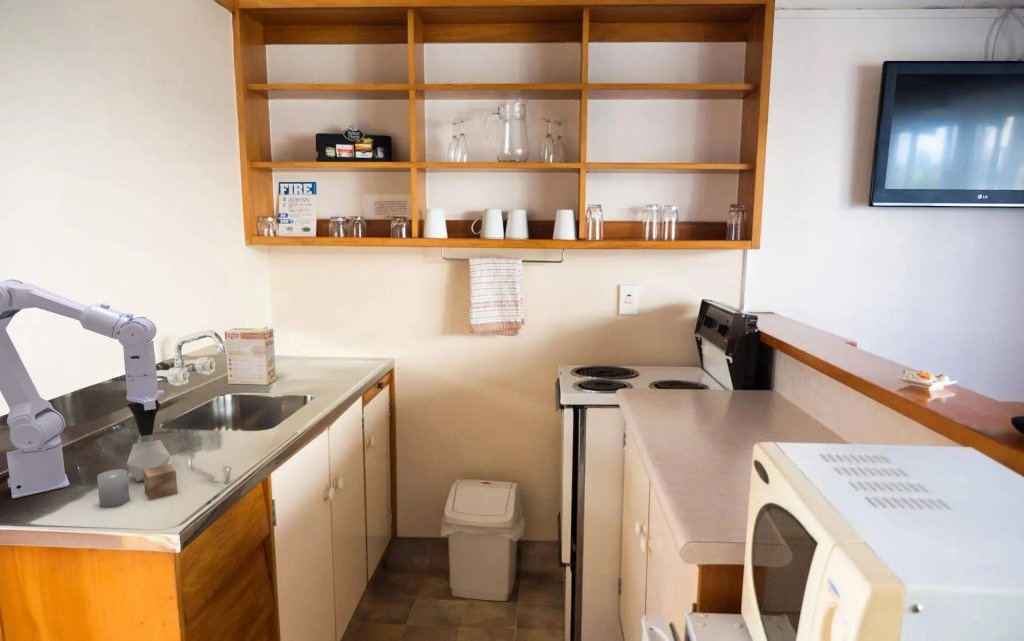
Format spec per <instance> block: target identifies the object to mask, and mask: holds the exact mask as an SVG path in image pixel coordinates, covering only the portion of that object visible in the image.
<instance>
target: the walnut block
mask: <svg viewBox="0 0 1024 641" xmlns="http://www.w3.org/2000/svg"><path fill="white" fill-rule="evenodd" d="M143 475H144V480H143V484H144V493H145V494H146V496H147V498H148V500H149V501H152V500H156V499H161V498H165V497H169V496H173V495H177V494H178V486H177V485H178V484H177V482H178V481H177V471H176V469H175V468H174V467H173V465H171V463H168V465H163V466H158V467H154V468H149V469H145V470H143Z"/></svg>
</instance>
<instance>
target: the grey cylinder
mask: <svg viewBox="0 0 1024 641" xmlns="http://www.w3.org/2000/svg"><path fill="white" fill-rule="evenodd" d="M96 479H97V489H98V498H99V499H98V500H99V501H98V502H99V506H100V508H103V509H114V508H117V507H121V506H123V505H126V504H127V503H129V501H130V498H131V497H130V489H129V478H128V470H126V469H123V468H116V469H110V470H106V471H103V472H101V473H99V474H98V475H96Z"/></svg>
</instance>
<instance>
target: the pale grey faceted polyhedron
mask: <svg viewBox="0 0 1024 641" xmlns="http://www.w3.org/2000/svg"><path fill="white" fill-rule="evenodd" d="M170 459H171V455H170V453H169V451H168V450H167V448H166V447H165V445H164V444H163V442H162V441H161V439H158V440H157V439H156V440H151V441H143V442H138V443H133V445H132V447H131V450H130V453H129V456H128V459H127V462H126V466H127V467H128V469H129V471H130V472H131V474H132V476H133V477H134V479H135V481H136V482H137V483H138V482H144V475H143V470H145V469H149V468H154V467H158V466H163V465H168V464H169V462H170Z"/></svg>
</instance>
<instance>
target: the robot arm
mask: <svg viewBox="0 0 1024 641" xmlns="http://www.w3.org/2000/svg"><path fill="white" fill-rule="evenodd" d="M34 308H35V309H36V308H37V309H40V310H43V311H47V312H50V313H53V314H55V315H56V314H57V315H60V316H64V317H66V318H69V319H73V320H76V321H79V323H80V324H81V326H82V328H83V329H84V330H87V331H90V332H93V333H96V334H97V335H98V334H99V335H102V336H104V337H108V338H109V339H113V340H118V342H119V343H120V345H122V347H123V348H122V349H123V360H124V373H125V374H124V375H125V386H126V396H125V397H126V400H127V401H129V402H131V403H128V404H127V407H128V409H129V410H130V412H131V413H132V415H133V417H134V420H135V423H136V426H137V429H138V433H139V434H140V437H146V436H151V435H153V432H154V428H155V422H156V421H155V420H156V416H157V413H158V411H159V409H160V407H161V404H160V402H159V400H158V398H159V396H164V395H165V390H163V389H158V387H159V386H158V376H157V363H156V362H157V361H156V353H155V344H154V338H155V337H156V335H157V326H156V325H155V323H154V322H153V321H152V320H151V319H148V318H147V317H145V316H137V317H134V314H133V313H130V312H128V313H125V312H122V311H118V310H116V309H114V308H111V304H108V303H105V302H104V303H101V304H99V303H94V304H91V305H89V306H87V305H84V304H83V303H80V302H77V301H75V300H72V299H70V298H67V297H65V296H62V295H59V294H57V293H56V292H52V291H50V290H48V289H45V288H43V287H39V286H38V285H36V284H33V283H28V282H23V281H21V280H18V279H14V278H11V279H5V280H2V281H1V280H0V393H1V394H2V397H3V399H4V400H5V402H6V404H7V407H8V409H9V412H8V416H7V419H6V423H7V425H8V429H9V440H10V443H11V444H12V445H13V447H15V448H16V449H14V450H11V451H7V452H6V460H7V467H8V475H9V477H8V478H7V484H8V485H7V486H8V488H10V492H11V498H12V499H17V498H21V497H25V496H26V497H27V496H31V495H35V494H39V493H44V492H48V491H53V490H57V489H61V488H62V489H63V488H66V487H69V486H70V481H69V478H68V475H67V473H66V471H65V463H64V453H63V444H62V443H63V442H62V438H61V434H62V433H63V431H64V430H65V427H66V420H65V417H64V415H62V414H61V413H60V412H58V411H57V410H56V409H55V408H54V406H53V405H52V402H50V401H48V400H46V399H45V398H42V397H41V395H40V393H39V391H38V390H37V388H36V385H35V384H34V382H33V380H32V378H31V376H30V374H29V372H28V370H27V368H26V366H25V364H24V363H23V360H22V358H21V357H20V354H19V352H18V350H17V348H16V346H15V345H14V342H13V341H12V339H11V337H10V335H9V333H8V331H7V328H8V326H9V324H10V323H11V321H12V319H13V318H14V317H15V315H17V314H18V313H19V312H20V311H22V310H25V309H26V310H27V309H34Z"/></svg>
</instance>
